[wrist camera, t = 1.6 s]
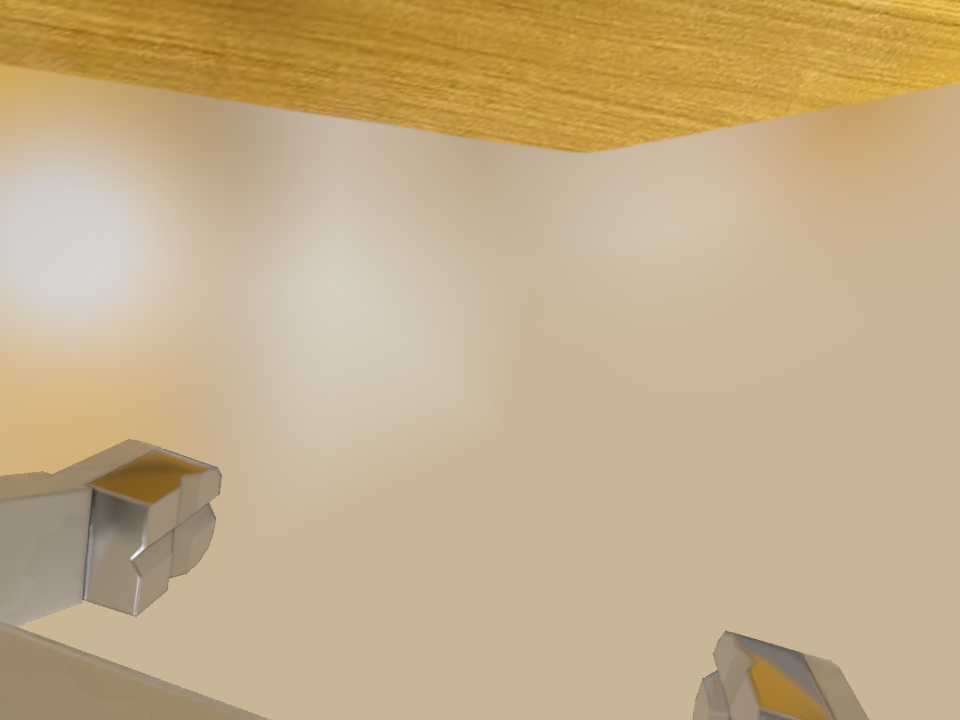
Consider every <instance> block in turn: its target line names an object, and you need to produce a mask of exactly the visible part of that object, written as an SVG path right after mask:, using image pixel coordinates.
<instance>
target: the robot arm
mask: <svg viewBox="0 0 960 720" xmlns="http://www.w3.org/2000/svg"><path fill="white" fill-rule="evenodd" d="M221 478H222V474H221V473H220V471H219V469H218V467H215V466H212V465H209V464H206V463H203V462H200V461H198V460H195V459H192V458H189V457H186V456H183V455H180V454H177V453H174V452H171V451H168V450H165V449H162V448H160V447H158V446H154V445H151V444H148V443H144V442H141V441H137V440H130V439H128V440H126V441H124V442H122V443H120V444H117V445H115V446H113V447H111V448H109V449H106V450H104V451H102V452H100V453H98V454H96V455H93V456H92V457H89V458H87V459H85V460H83V461H80V462H78V463H76V464H74V465H72V466H69V467H67V468H65V469H63V470H61V471H59V472H56V473H54V474H49V473H46V472H33V473H24V474H14V475H5V476H0V720H270V719H267V718H265V717H262V716H259V715H256V714H254V713H251V712H248V711H245V710H243V709H240V708H237V707H234V706H231V705H229V704H226V703H224V702H221V701H218V700H215V699H213V698H210V697H207V696H204V695H202V694H199V693H196V692H193V691H191V690H188V689H185V688H182V687H180V686H177V685H174V684H172V683H168V682H166V681H163V680H161V679H158V678H155V677H152V676H150V675H147V674H144V673H141V672H139V671H136V670H133V669H130V668H128V667H125V666H122V665H119V664H117V663H114V662H111V661H108V660H106V659H103V658H100V657H97V656H95V655H92V654H89V653H87V652H83V651H81V650H78V649H76V648H73V647H70V646H67V645H65V644H62V643H59V642H56V641H54V640H51V639H48V638H45V637H42V636H40V635H37V634H34V633H32V632H29V631H26V630H23V629H21V628H18V627H17V626H20V625H22V624H25V623H28V622H30V621H33V620H36V619H39V618H41V617H44V616H47V615H50V614H53V613H55V612H58V611H61V610H63V609H66V608H69V607H71V606H74V605H77V604H80V603H82V600H85V601H88V602H91V603H94V604H97V605H101V606H103V607H107V608H110V609H113V610H116V611H119V612H123V613H125V614H129V615H132V616H135V617H137V616H138V615H139V614H140V613H141V612H143V611H144V610H145V609H146V608H147V607H149V606H150V605H151V604H152V603H153V602H154V601H155V600H157V599H158V598H159V597H160V596H161V595H163V594H164V593H165V592H166V591H167V589H168V582H169V578H173V577H176V576H180V575H184V574H187V573H188V572H189V571H190V570H191V569H192V568H193V567H194V566H195V565H197V563H198V562H199V561H200V559H201V558H202V556H203V555H204V553H205V552H206V550H207V549H208V547H209V544H210V542H211V539H212V535H213V533H214V528H215V522H216V517H215V515H214V512H213V510H212V508H211V506H210V504H209V503H210V502H211V501H212V500H213V499H214V498H216V497H217V496H218V495H219V494H220V488H221ZM713 656H714V659H715V663H716V667H717V671H715V672H713V673H711V674H710V675H708V676H706V677H705V678H703V680H702V682H701V685H700V688H699V690H698V693H697V696H696V700H695V706H694V713H693V720H869V719H868V717H867V715H866V713H865V712H864V710H863V708H862V706H861V705H860V703H859V701H858V699H857V698H856V696H855V694H854V692H853V691H852V689H851V687H850V686H849V684H848V682H847V681H846V678H845V677H844V675H843V673H842V671H841V670H840V668H839V667H838V666H837V665H836V664H834V663H833V662H832V661H830V660H826V659H823V658H819V657H816V656H812V655H808V654H805V653H801V652H798V651H794V650H791V649H787V648H784V647H781V646H777V645H774V644H771V643H767V642H764V641H760V640H757V639H753V638H750V637H746V636H743V635H740V634H736V633H733V632H728V631H725V632H724V633H723V635H722V636H721V637H720V639H719V640H718V643H717V645H716V648H715V650H714V652H713Z"/></svg>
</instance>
